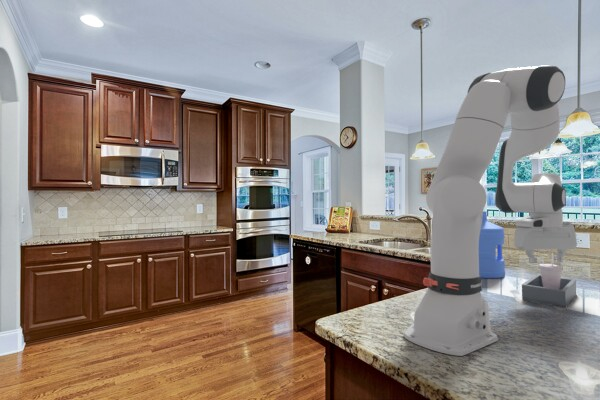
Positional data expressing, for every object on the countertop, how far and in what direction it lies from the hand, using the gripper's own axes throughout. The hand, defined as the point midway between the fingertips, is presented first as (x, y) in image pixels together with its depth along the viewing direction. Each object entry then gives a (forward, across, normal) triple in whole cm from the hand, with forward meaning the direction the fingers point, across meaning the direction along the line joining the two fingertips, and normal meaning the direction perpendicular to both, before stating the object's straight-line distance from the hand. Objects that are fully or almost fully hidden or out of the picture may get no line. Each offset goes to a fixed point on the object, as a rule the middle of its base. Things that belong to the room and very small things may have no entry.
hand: (545, 262), depth 106 cm
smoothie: (+11, -1, +1) cm, 11 cm away
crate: (+12, -1, +1) cm, 12 cm away
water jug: (+12, -2, -32) cm, 35 cm away
